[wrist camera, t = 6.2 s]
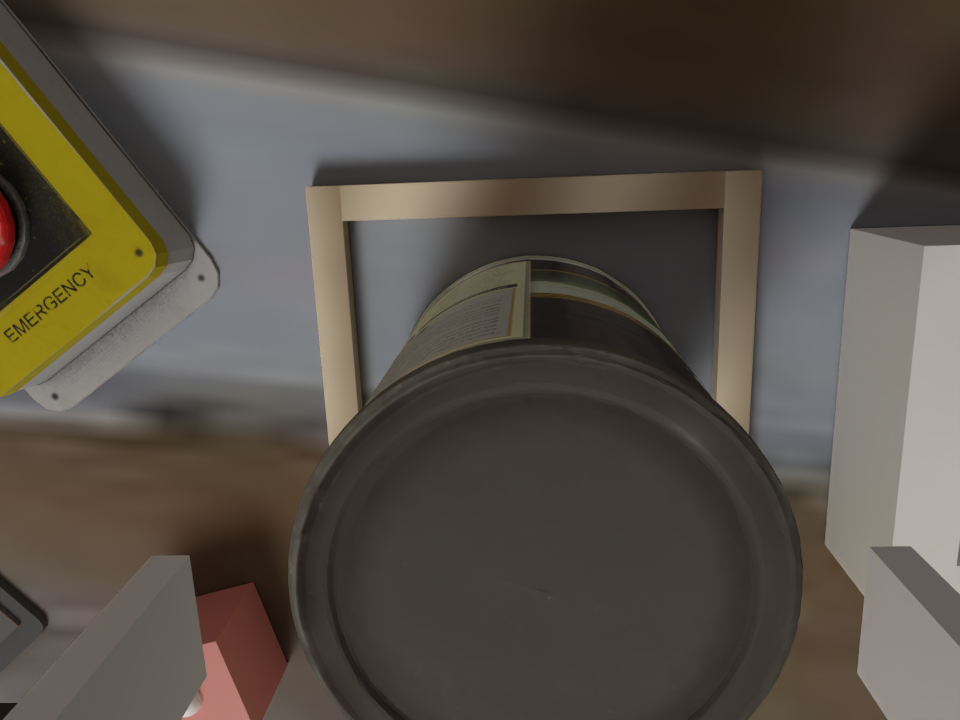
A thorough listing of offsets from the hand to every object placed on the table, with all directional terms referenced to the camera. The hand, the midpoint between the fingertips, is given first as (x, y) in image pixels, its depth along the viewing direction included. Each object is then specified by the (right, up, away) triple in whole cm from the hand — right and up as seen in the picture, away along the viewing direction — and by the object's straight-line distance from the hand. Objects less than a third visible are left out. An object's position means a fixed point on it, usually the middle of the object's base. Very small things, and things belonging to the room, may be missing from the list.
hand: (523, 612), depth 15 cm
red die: (-11, -7, +17) cm, 22 cm away
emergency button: (-18, +11, +14) cm, 25 cm away
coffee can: (+1, +4, +14) cm, 15 cm away
